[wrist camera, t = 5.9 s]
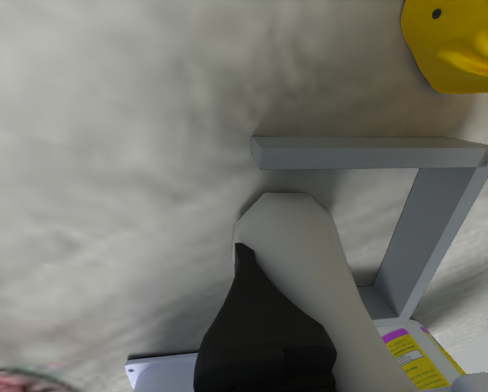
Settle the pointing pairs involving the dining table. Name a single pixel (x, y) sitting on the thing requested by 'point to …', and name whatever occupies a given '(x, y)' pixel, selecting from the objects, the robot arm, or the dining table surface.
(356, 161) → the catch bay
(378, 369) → the flask
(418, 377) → the supplement bottle
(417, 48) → the figure statuette
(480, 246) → the dining table surface
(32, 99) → the dining table surface
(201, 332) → the dining table surface
